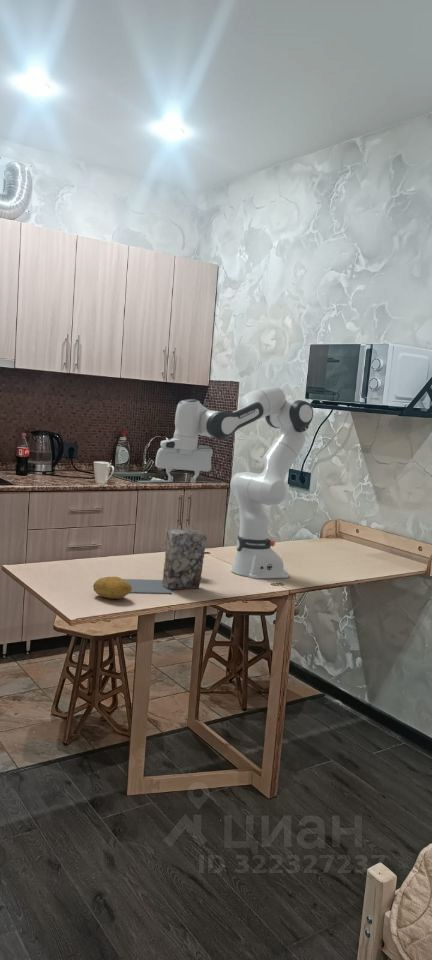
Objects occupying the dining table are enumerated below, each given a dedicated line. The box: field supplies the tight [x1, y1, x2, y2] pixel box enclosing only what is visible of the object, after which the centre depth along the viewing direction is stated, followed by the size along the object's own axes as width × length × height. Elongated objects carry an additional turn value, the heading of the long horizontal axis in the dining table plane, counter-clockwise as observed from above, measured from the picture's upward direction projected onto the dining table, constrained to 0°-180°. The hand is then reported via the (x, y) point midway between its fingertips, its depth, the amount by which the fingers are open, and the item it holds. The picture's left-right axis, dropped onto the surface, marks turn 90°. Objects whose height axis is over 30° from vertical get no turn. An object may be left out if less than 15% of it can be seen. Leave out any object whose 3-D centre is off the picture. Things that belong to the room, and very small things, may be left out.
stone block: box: [162, 529, 207, 590], centre depth 247 cm, size 13×7×20 cm, turn 124°
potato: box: [92, 576, 132, 600], centre depth 228 cm, size 9×13×7 cm
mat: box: [122, 578, 173, 595], centre depth 244 cm, size 19×16×1 cm
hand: (181, 482), depth 257 cm, fingers open, 7 cm apart
